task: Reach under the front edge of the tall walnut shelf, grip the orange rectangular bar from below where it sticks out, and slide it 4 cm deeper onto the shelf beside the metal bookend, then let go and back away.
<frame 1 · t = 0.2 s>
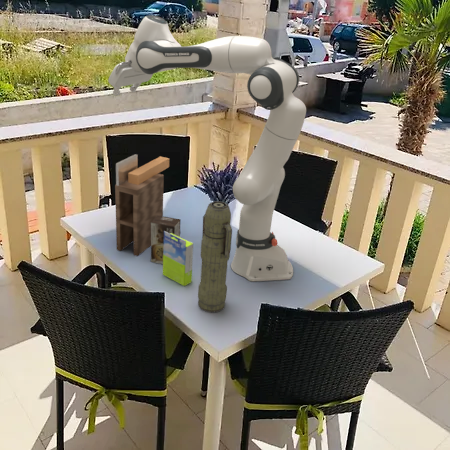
hand: (124, 92, 186), 54 cm above the table, tool tilted 30°, fingers open, 8 cm apart
coffee box: (165, 260, 188), on the table
box: (176, 279, 178), on the table
orange rectangular bar: (149, 174, 192), point 26 cm above the table, touching shelf
thermos: (211, 304, 166), on the table
shelf: (140, 243, 198), on the table
bookend: (127, 169, 184), on the shelf, point 30 cm above the table
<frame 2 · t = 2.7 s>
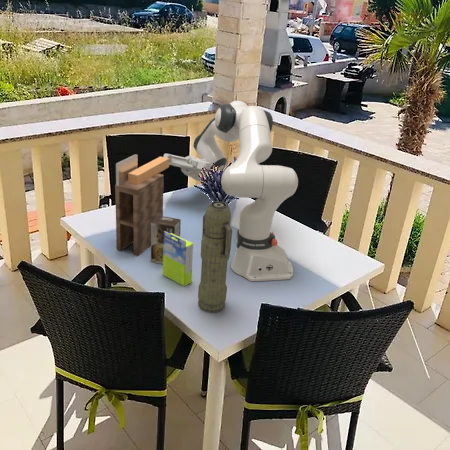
hand: (178, 158, 212), 25 cm above the table, tool pointing upward, fingers open, 8 cm apart
nothing on the table moved.
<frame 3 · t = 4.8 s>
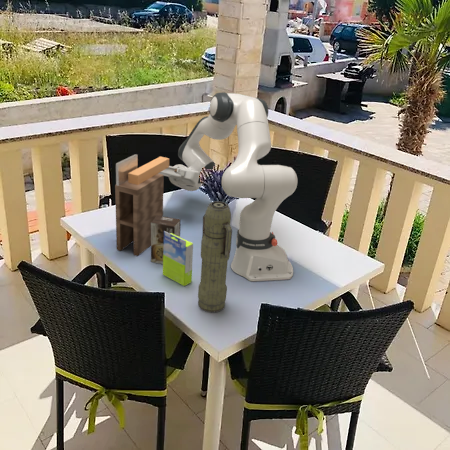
hand: (165, 167, 202), 25 cm above the table, tool pointing upward, fingers open, 8 cm apart
nothing on the table moved.
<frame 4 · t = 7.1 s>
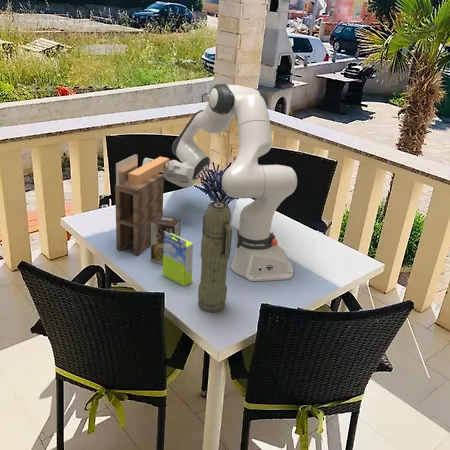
hand: (159, 163, 197), 28 cm above the table, tool pointing upward, fingers closed on orange rectangular bar, 4 cm apart
orange rectangular bar: (149, 174, 192), point 26 cm above the table, touching gripper, shelf
everything else where it was.
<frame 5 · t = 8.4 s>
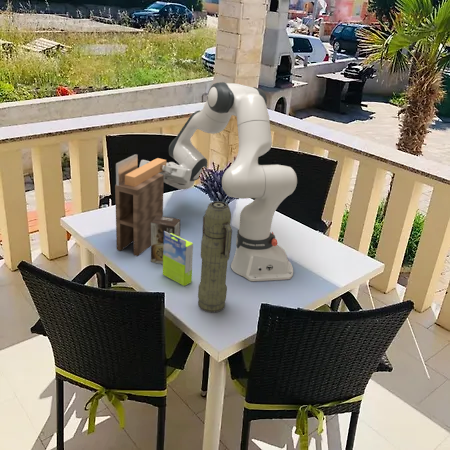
hand: (155, 165, 195), 28 cm above the table, tool pointing upward, fingers closed on orange rectangular bar, 4 cm apart
orange rectangular bar: (146, 176, 190), point 26 cm above the table, touching gripper
everything else where it was.
when the fingers open (28 cm above the table, at t = 9.9 s): orange rectangular bar stays where it is, resting on shelf.
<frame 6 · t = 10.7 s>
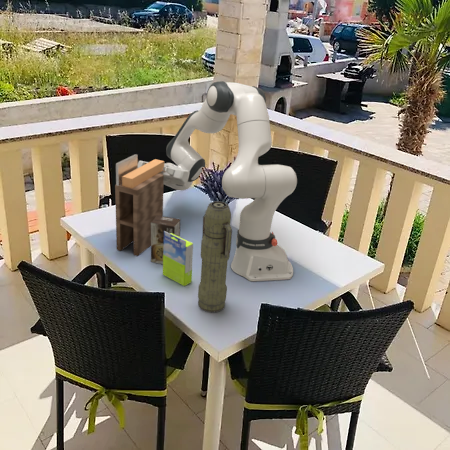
hand: (153, 166, 193), 28 cm above the table, tool pointing upward, fingers open, 8 cm apart
orange rectangular bar: (144, 177, 189), point 26 cm above the table, touching shelf
everything else where it was.
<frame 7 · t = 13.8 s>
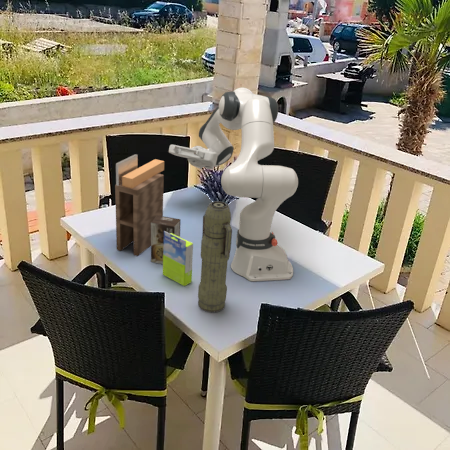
hand: (185, 150, 208), 30 cm above the table, tool pointing upward, fingers open, 8 cm apart
nothing on the table moved.
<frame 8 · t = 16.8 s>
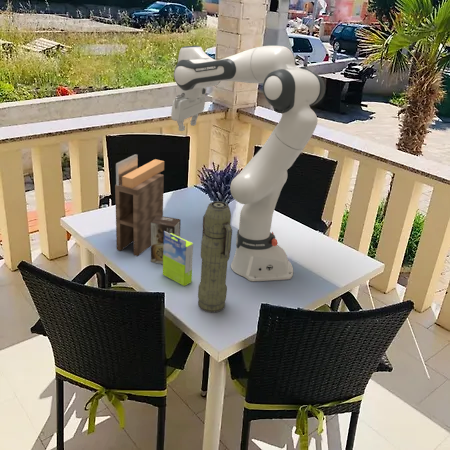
hand: (187, 127, 197), 41 cm above the table, tool pointing down, fingers open, 8 cm apart
nothing on the table moved.
at the end: orange rectangular bar 0.8 cm from the target spot on the shelf, point 26.0 cm above the shelf's base; orange rectangular bar tilted 0°; the gripper is holding nothing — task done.
